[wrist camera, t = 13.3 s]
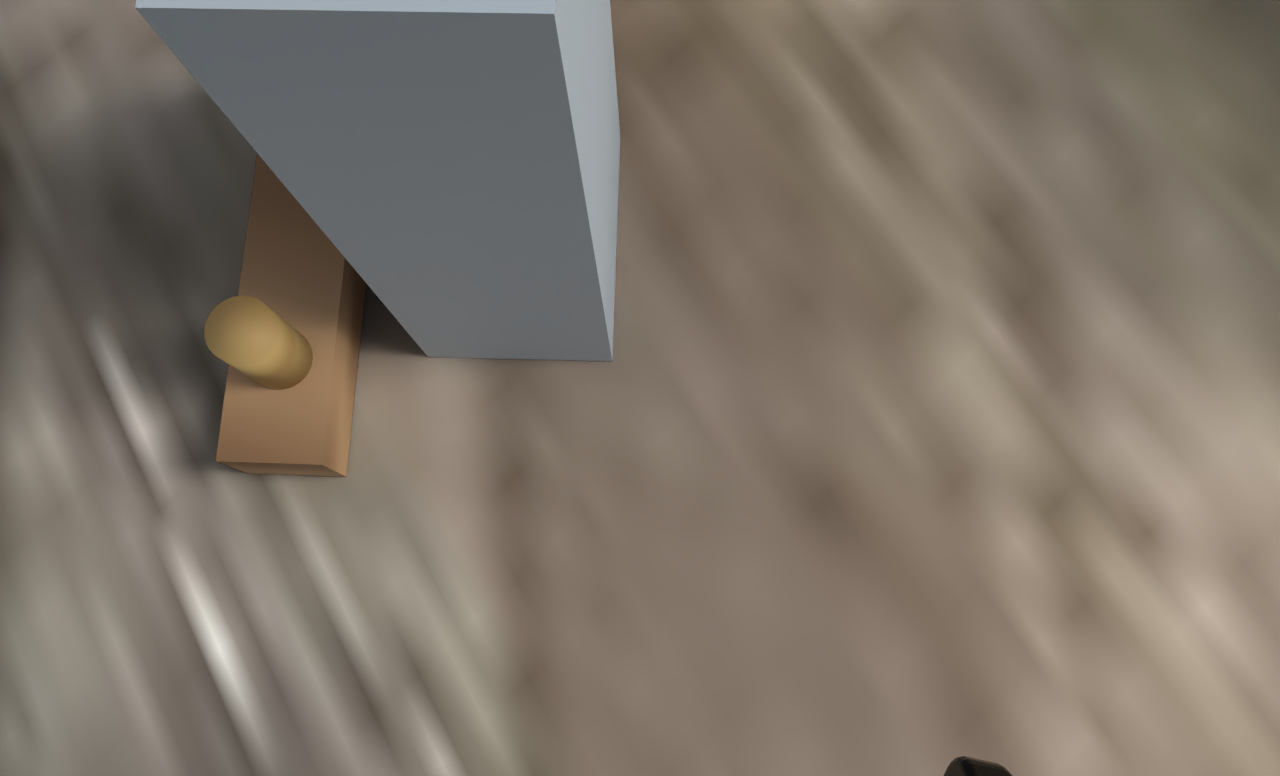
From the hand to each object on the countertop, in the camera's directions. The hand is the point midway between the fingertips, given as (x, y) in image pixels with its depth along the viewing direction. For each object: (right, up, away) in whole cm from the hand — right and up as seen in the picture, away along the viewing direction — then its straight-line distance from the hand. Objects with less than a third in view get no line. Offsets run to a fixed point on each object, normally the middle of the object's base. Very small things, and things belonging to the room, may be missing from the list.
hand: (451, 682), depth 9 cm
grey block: (-1, +6, +13) cm, 14 cm away
